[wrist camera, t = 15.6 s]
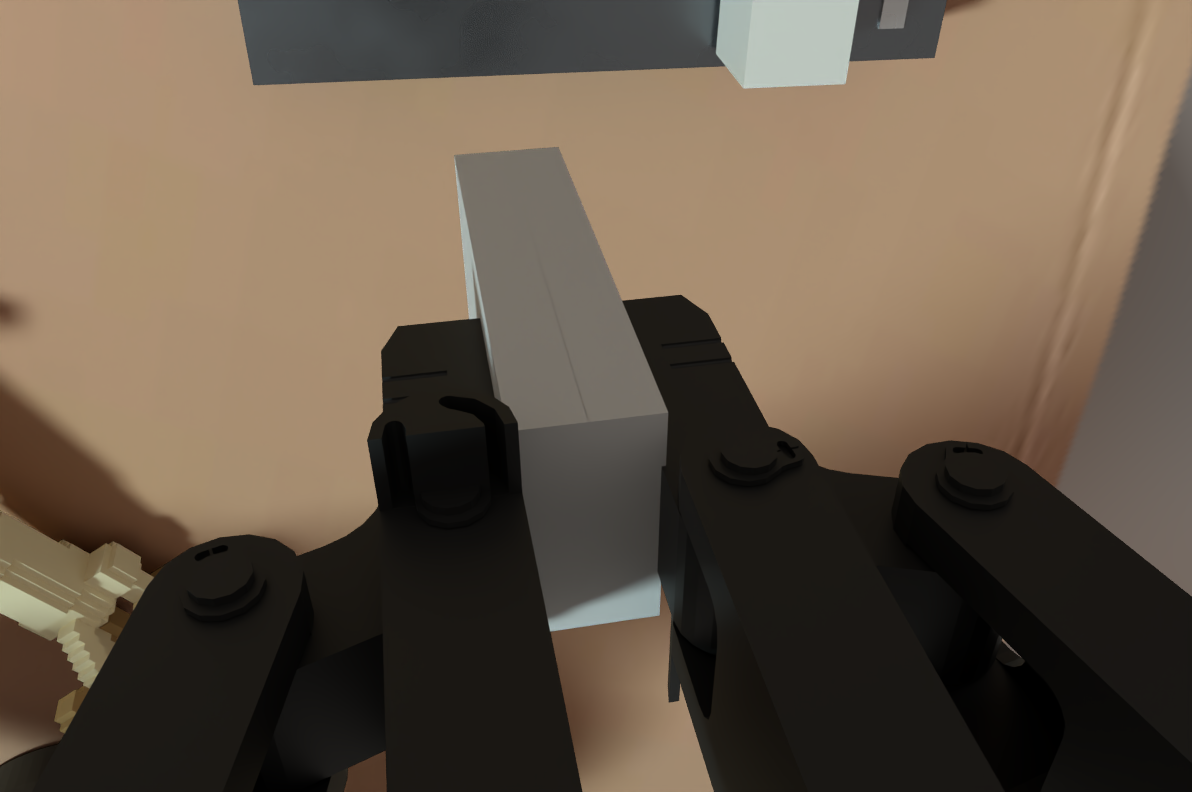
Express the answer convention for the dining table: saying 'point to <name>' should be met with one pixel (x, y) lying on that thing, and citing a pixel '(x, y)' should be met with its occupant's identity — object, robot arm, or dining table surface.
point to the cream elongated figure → (68, 597)
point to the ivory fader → (786, 41)
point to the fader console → (525, 36)
